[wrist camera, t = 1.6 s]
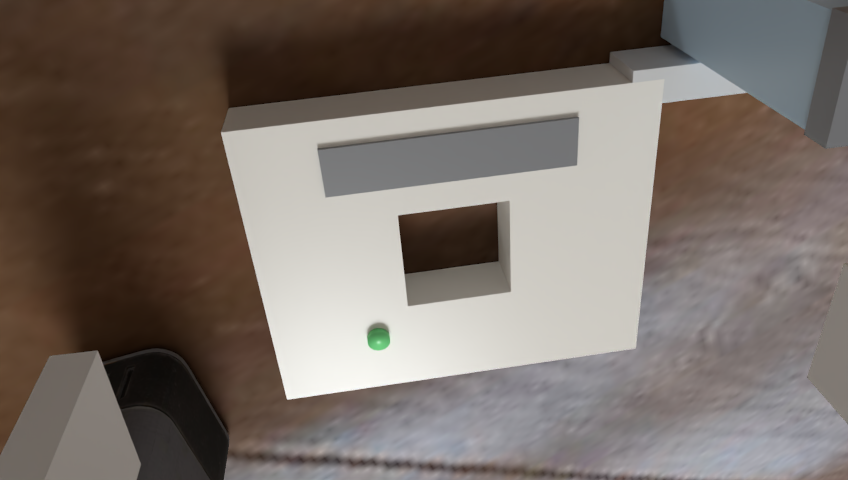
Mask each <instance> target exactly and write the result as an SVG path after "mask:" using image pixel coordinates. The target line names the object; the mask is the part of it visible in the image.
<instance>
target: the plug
mask: <svg viewBox="0 0 848 480" xmlns="http://www.w3.org/2000/svg"><path fill="white" fill-rule="evenodd" d="M661 37H662V38H663V39H665V40H666V41H668V42H669V43H671V44H672V45H674V46H676V47H677V48H679V49H680V50H682V51H683V52H685V53H686V54H688V55H690V56H691V57H693V58H694V59H696V60H697V61H699V62H700V63H702V64H704V65H705V66H707V67H708V68H710V69H711V70H713V71H714V72H716V73H718V74H719V75H721V76H722V77H724V78H725V79H727V80H728V81H730V82H732V83H733V84H735V85H736V86H738V87H739V88H741V89H742V90H744V91H745V92H747V93H749V94H750V95H752V96H753V97H755V98H756V99H758V100H759V101H761V102H763V103H764V104H766V105H767V106H769V107H770V108H772V109H773V110H775V111H777V112H778V113H780V114H781V115H783V116H784V117H786V118H787V119H789V120H791V121H792V122H794V123H795V124H797V125H798V126H800V127H801V128H803V129H805V132H804V135H806V136H807V137H809V138H810V139H812V140H813V141H815V142H816V143H818V144H819V145H821V146H822V147H824V148H826V149H827V148H834V147H842V146H848V0H664V7H663V17H662V27H661Z"/></svg>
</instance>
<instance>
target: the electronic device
mask: <svg viewBox="0 0 848 480" xmlns="http://www.w3.org/2000/svg"><path fill="white" fill-rule="evenodd" d="M102 363H103V366H104V368H105V371H106V374H107V376H108V379H109V381H110V384H111V387H112V389H113V392H114V395H115V397H116V400H117V402H118V405H119V408H120V410H121V413H122V416H123V418H124V421H125V423H126V426H127V429H128V431H129V434H130V437H131V439H132V442H133V444H134V447H135V450H136V452H137V455H138V458H139V460H140V463H141V466H140V470H139V473H138V477H137V480H224V474H225V468H226V461H227V454H228V447H229V436H228V433H227V431H226V429H225V428H224V426H223V424H222V422H221V421H220V419H219V417H218V416H217V414H216V412H215V410H214V409H213V407H212V405H211V404H210V402H209V400H208V398H207V397H206V395H205V393H204V392H203V390H202V388H201V387H200V385H199V383H198V381H197V380H196V378H195V376H194V375H193V373H192V371H191V369H190V368H189V366H188V365H187V363H186V362H185V361H184V360H183V358H182V357H180V356H179V355H178V354H176V353H174V352H172V351H169V350H166V349H159V348H156V349H148V350H143V351H139V352H136V353H132V354H129V355H125V356H122V357H118V358H115V359H111V360H107V361H104V362H102Z"/></svg>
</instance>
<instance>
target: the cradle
mask: <svg viewBox="0 0 848 480" xmlns="http://www.w3.org/2000/svg"><path fill="white" fill-rule="evenodd" d="M609 63H610V64H611V65H612V66H613V67H614V68H616V69H617V70H618V71H619V72H620V73H622V74H623V75H624V76H625V77H626V78H627V79H629V80H630V81H631V82H632V83H636V82H644V81H653V80H661V79H665V80H664V89H663V98H662V103H667V102H675V101H683V100H691V99H699V98H707V97H716V96H724V95H732V94H740V93H747V92H745V91H744V90H742V89H741V88H739V87H738V86H736V85H735V84H733V83H732V82H730V81H728V80H727V79H725V78H724V77H722V76H721V75H719V74H718V73H716V72H714V71H713V70H711V69H710V68H708V67H707V66H705V65H704V64H702V63H700V62H699V61H697V60H696V59H694V58H693V57H691V56H690V55H688V54H686V53H685V52H683V51H682V50H680V49H679V48H677V47H676V46H674V45H665V46H657V47H648V48H640V49H631V50H623V51H614V52H610V60H609Z"/></svg>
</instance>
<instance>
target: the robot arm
mask: <svg viewBox="0 0 848 480" xmlns="http://www.w3.org/2000/svg"><path fill="white" fill-rule="evenodd" d="M807 378H808V379H809V380H810V381H811V382H812V383H813V385H814V386H815V387H816V388H817V389H818V390H819V392H820V393H821V394H822V395H823V396H824V397H825V398H826V400H827V401H828V402H829V403H830V404H831V405H832V407H833V408H834V409H835V410H836V411H837V412H838V413H839V415H840V416H841V417H842V418H843V419H844V420H845V421H846V423H847V424H848V263H845V264H844V265H843V268H842V271H841V274H840V277H839V280H838V283H837V286H836V289H835V293H834V296H833V299H832V302H831V305H830V308H829V311H828V314H827V317H826V320H825V323H824V327H823V330H822V333H821V336H820V339H819V342H818V345H817V348H816V351H815V354H814V357H813V361H812V364H811V367H810V370H809V373H808V376H807ZM140 466H141V463H140V460H139V458H138V455H137V452H136V450H135V447H134V444H133V442H132V439H131V437H130V434H129V431H128V429H127V426H126V423H125V421H124V418H123V416H122V413H121V410H120V408H119V405H118V402H117V400H116V397H115V395H114V392H113V389H112V387H111V384H110V381H109V379H108V376H107V374H106V371H105V368H104V366H103V363H102V360H101V358H100V355H99V353H98V351H89V352H80V353H72V354H63V355H55V356H50V357H49V359H48V361H47V363H46V365H45V367H44V369H43V371H42V373H41V375H40V377H39V379H38V381H37V383H36V385H35V387H34V389H33V391H32V393H31V395H30V397H29V399H28V401H27V403H26V405H25V407H24V409H23V411H22V413H21V415H20V417H19V419H18V421H17V423H16V425H15V427H14V429H13V431H12V433H11V435H10V437H9V439H8V441H7V443H6V445H5V447H4V449H3V451H2V453H1V455H0V480H137V477H138V473H139V470H140Z"/></svg>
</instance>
